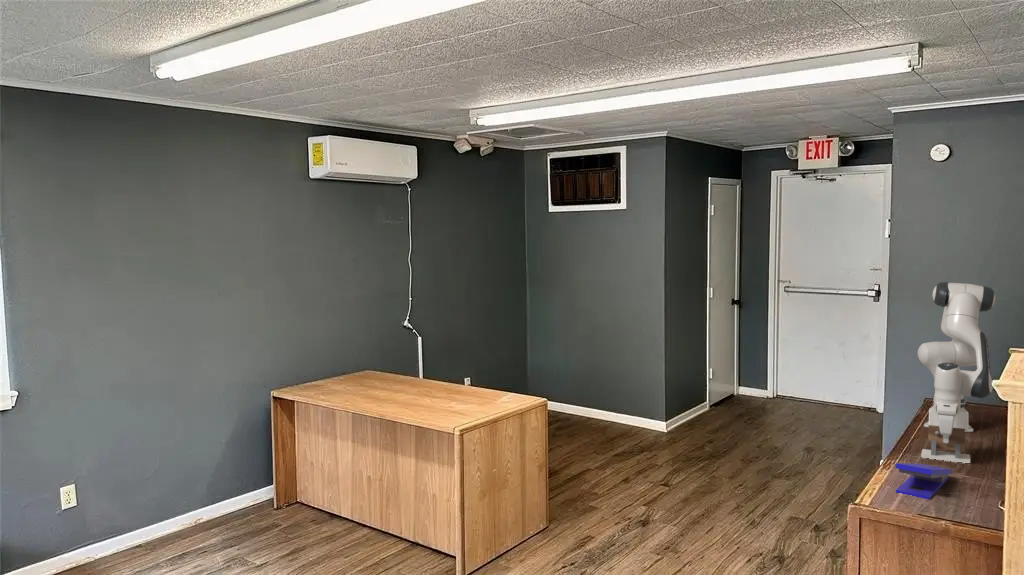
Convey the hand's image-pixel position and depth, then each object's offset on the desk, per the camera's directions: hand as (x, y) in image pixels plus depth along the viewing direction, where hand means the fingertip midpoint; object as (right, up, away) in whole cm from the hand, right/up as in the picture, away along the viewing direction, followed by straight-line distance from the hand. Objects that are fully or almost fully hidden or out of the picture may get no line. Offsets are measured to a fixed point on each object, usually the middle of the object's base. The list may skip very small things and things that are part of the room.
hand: (946, 441), depth 280 cm
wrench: (+52, -1, +80) cm, 96 cm away
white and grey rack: (0, -7, 0) cm, 7 cm away
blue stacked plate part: (-26, -9, -30) cm, 40 cm away
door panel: (0, -3, 0) cm, 3 cm away
